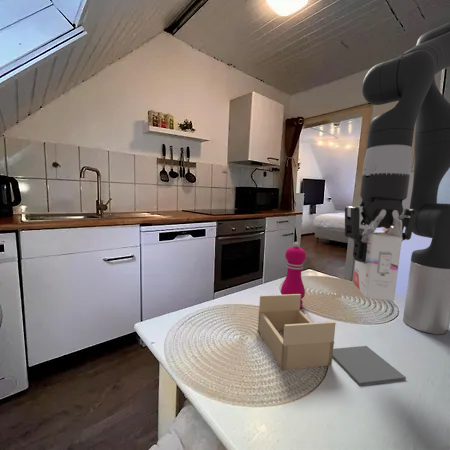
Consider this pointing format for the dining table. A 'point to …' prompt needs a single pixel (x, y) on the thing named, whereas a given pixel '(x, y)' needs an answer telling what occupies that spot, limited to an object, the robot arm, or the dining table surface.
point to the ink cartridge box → (380, 264)
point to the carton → (294, 333)
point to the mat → (365, 365)
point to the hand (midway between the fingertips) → (374, 260)
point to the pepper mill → (294, 272)
